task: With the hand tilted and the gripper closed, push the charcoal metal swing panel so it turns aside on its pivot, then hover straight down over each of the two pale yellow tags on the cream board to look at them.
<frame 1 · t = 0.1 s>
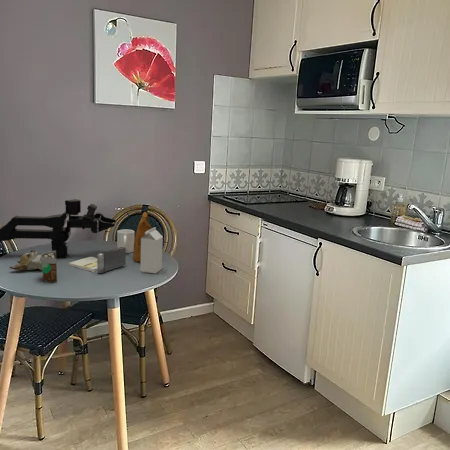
hand: (115, 222, 215), 17 cm above the table, fingers open, 9 cm apart
coffee package: (143, 259, 218), on the table
swing panel: (111, 259, 198), point 5 cm above the table, hinge at 0.0°
food container: (48, 279, 184), on the table
mug: (125, 252, 227), on the table
label board: (92, 265, 203), on the table
ceramic sculpture: (31, 270, 194), on the table
milk carton: (151, 271, 201), on the table
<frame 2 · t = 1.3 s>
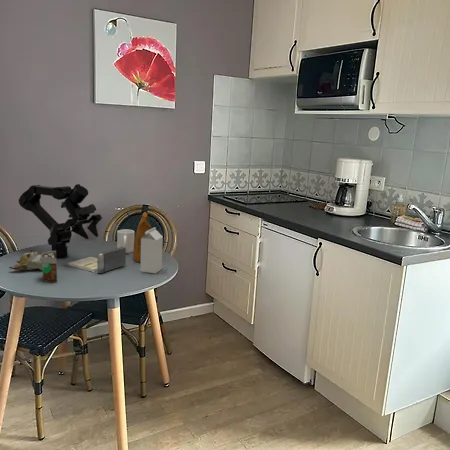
hand: (92, 237, 201), 13 cm above the table, fingers open, 5 cm apart
nothing on the table moved.
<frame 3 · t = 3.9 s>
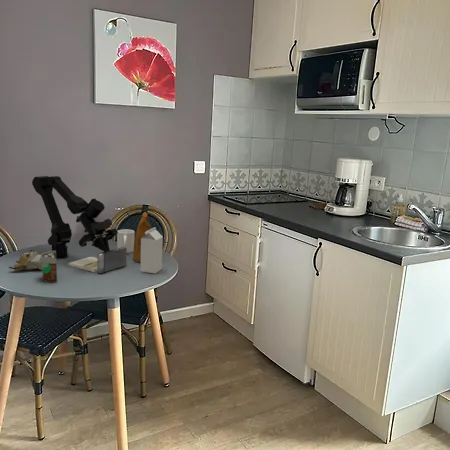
hand: (108, 252, 198), 7 cm above the table, fingers closed, pressing on swing panel
swing panel: (111, 259, 198), point 5 cm above the table, hinge at -2.2°, touching gripper
everything else where it was.
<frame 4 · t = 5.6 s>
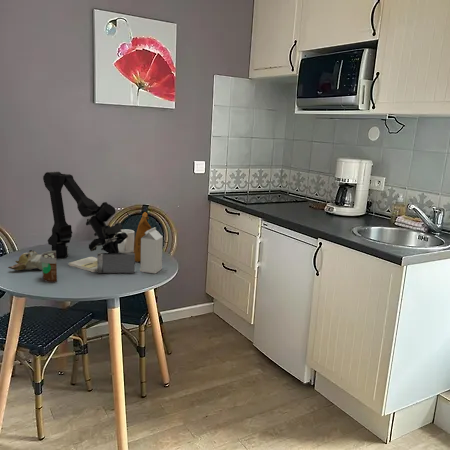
hand: (118, 257, 195), 6 cm above the table, fingers closed
swing panel: (116, 262, 194), point 5 cm above the table, hinge at -49.0°, touching gripper
everything else where it was.
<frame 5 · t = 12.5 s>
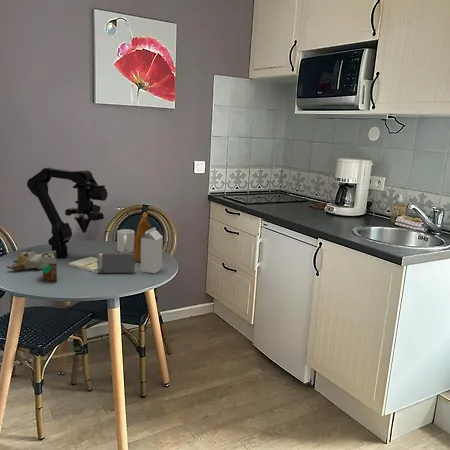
hand: (84, 232, 208), 13 cm above the table, fingers closed
swing panel: (116, 262, 194), point 5 cm above the table, hinge at -49.2°
at the end: swing panel at -49° (first picture: +0°); milk carton moved 0.2 cm from its start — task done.
